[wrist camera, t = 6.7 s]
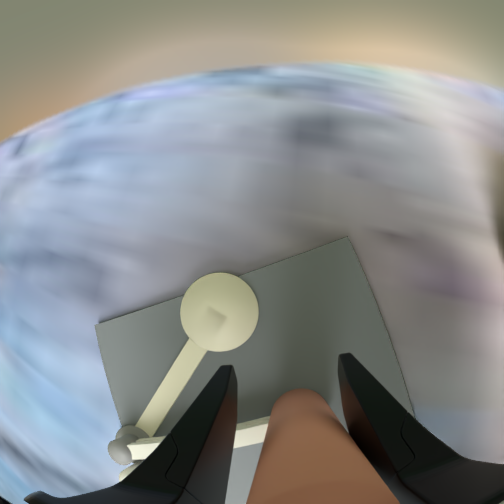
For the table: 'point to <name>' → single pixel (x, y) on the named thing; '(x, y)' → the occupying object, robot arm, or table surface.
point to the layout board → (249, 346)
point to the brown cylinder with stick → (293, 456)
